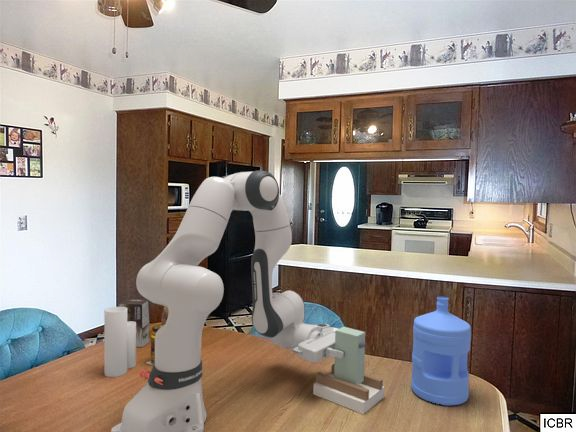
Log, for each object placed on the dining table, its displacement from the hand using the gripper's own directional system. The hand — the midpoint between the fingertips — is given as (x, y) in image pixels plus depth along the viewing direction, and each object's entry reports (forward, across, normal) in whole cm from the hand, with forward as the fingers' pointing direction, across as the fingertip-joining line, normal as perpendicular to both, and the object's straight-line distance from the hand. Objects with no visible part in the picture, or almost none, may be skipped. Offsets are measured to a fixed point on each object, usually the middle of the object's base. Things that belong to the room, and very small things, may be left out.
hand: (349, 351), depth 114 cm
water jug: (+19, +19, +13) cm, 30 cm away
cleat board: (0, 0, +13) cm, 13 cm away
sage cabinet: (0, 0, +8) cm, 8 cm away
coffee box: (-81, -19, +13) cm, 84 cm away
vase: (-64, -34, +13) cm, 74 cm away
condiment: (-60, -21, +13) cm, 65 cm away
